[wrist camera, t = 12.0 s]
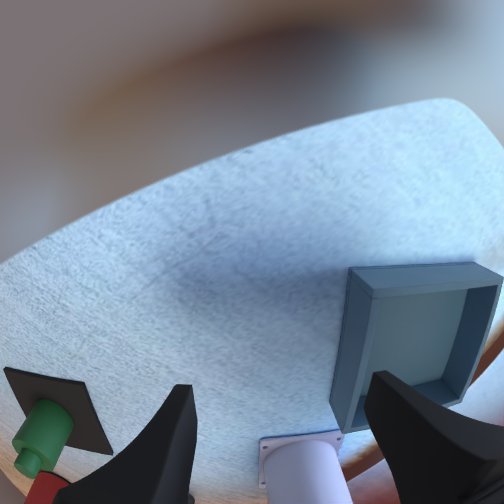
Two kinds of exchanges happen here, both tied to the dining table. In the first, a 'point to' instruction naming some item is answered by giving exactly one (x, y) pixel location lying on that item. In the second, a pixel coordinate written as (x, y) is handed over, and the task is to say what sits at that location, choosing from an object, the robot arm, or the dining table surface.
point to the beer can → (45, 488)
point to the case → (412, 332)
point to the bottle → (42, 438)
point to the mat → (69, 398)
